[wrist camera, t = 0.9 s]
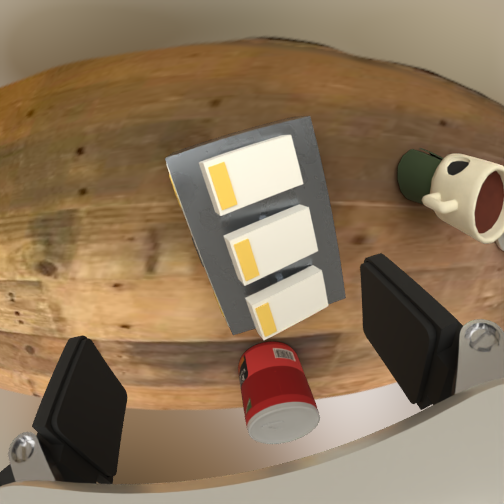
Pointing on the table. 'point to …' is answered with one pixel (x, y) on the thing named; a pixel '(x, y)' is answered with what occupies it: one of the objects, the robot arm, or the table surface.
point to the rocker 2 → (271, 243)
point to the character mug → (457, 191)
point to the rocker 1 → (251, 173)
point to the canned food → (276, 394)
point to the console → (255, 216)
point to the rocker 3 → (288, 302)
